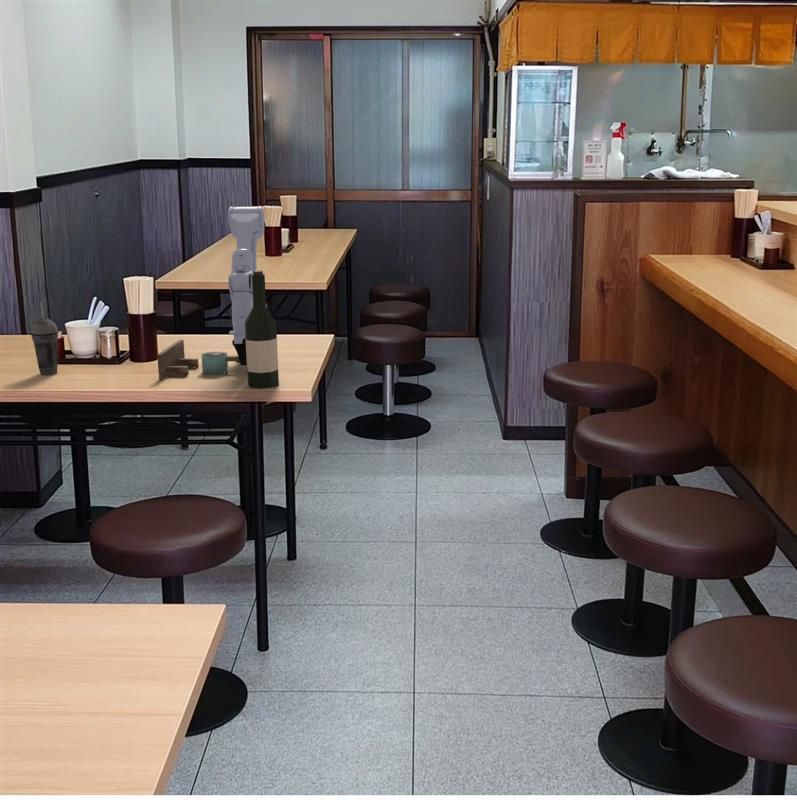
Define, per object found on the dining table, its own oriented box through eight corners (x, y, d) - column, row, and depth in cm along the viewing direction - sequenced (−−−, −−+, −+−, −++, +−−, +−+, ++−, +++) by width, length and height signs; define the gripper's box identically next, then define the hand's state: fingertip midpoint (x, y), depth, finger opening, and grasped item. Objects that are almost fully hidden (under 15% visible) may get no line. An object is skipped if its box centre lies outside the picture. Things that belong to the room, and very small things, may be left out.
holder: (203, 363, 291) (201, 339, 289) (182, 380, 272) (180, 354, 270) (181, 363, 292) (179, 339, 290) (159, 379, 272) (157, 354, 270)
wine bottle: (251, 380, 270) (246, 268, 263) (282, 381, 269) (277, 268, 262) (243, 388, 262) (237, 273, 255) (275, 388, 261) (270, 273, 254)
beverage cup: (35, 377, 276) (27, 305, 271) (34, 372, 283) (26, 301, 278) (63, 375, 279) (56, 303, 274) (61, 369, 286) (54, 299, 280)
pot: (199, 374, 278) (198, 356, 276) (206, 368, 284) (205, 351, 283) (249, 375, 276) (248, 357, 275) (255, 369, 283) (254, 351, 282)
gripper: (235, 311, 283) (237, 358, 287) (221, 320, 269) (224, 370, 273) (259, 311, 283) (262, 358, 286) (247, 320, 269) (250, 370, 272)
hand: (245, 364), depth 279 cm, fingers closed on pot, 2 cm apart
